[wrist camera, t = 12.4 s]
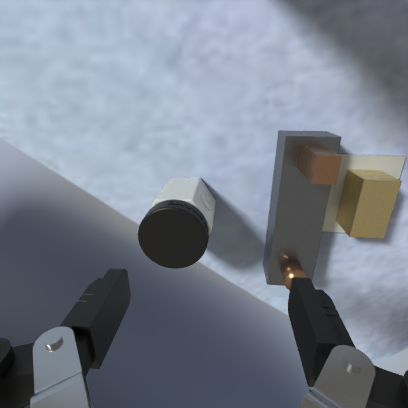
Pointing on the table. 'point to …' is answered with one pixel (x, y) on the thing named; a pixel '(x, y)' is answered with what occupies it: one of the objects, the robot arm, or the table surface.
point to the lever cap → (367, 202)
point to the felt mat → (364, 162)
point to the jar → (178, 223)
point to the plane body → (299, 203)
